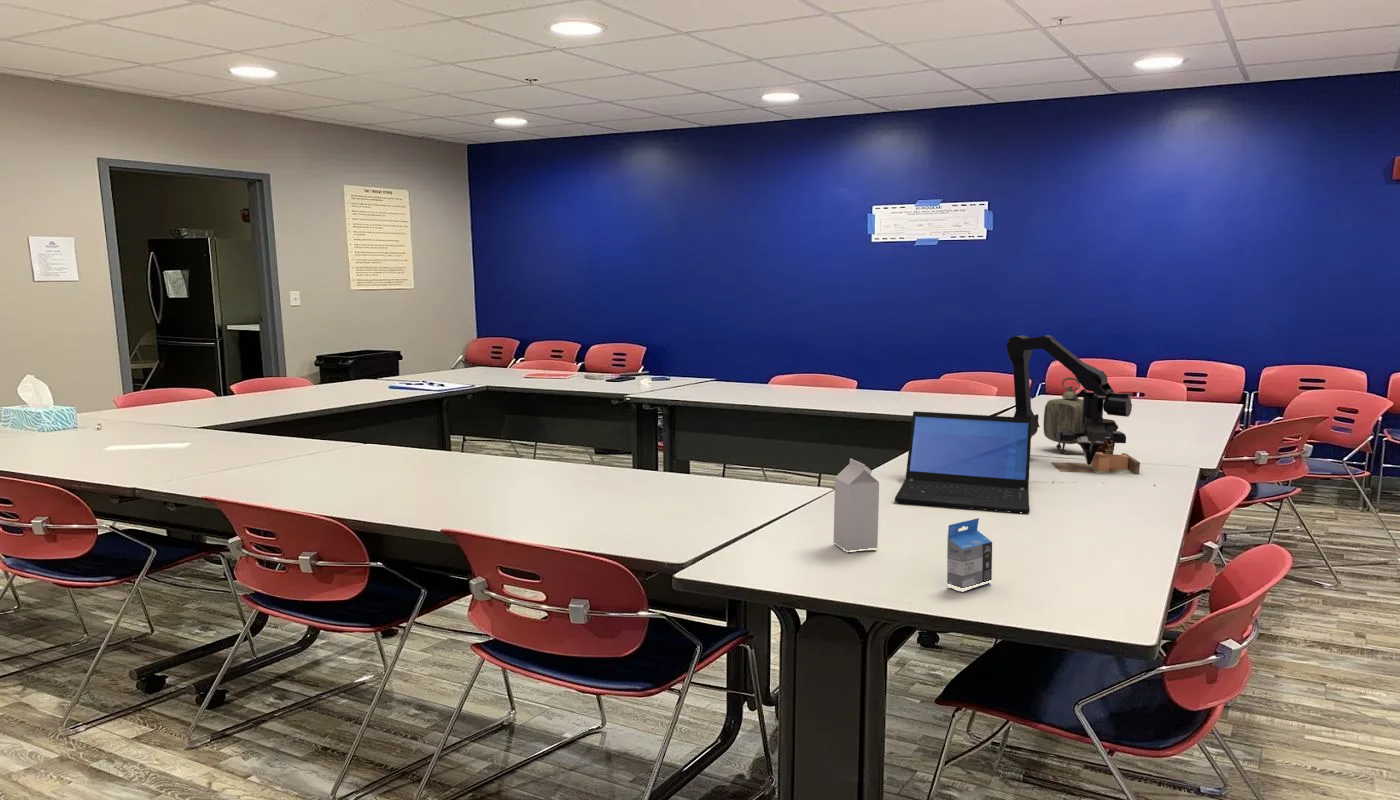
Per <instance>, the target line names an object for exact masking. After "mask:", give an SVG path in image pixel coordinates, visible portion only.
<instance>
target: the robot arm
mask: <svg viewBox="0 0 1400 800" xmlns="http://www.w3.org/2000/svg"><path fill="white" fill-rule="evenodd" d="M1039 349H1042V350H1044V351H1045V352H1046V353H1047V354H1049V355H1050V356H1051V357H1053V358H1054V359H1055V360H1056V361H1057V362H1059V363H1060V364H1061V365H1062V366H1064V367H1065V368H1066V369H1067V370H1069V371H1070V372H1071V373H1072V374H1073V375H1074V377H1075V379H1077V380H1078V382H1079V383H1080V386H1082V387H1083V389H1081V390H1080V391H1079V392H1078V393H1076V397H1078V398H1082V399H1083V408H1082V415H1081V418H1082V422H1081V428H1080V432H1081V433H1078V432H1073V431H1072V430H1070V429H1058V430H1057V433H1056V438H1057V439H1059V440H1060V441H1072V440H1073V439H1074V438H1075V439H1077V440H1076V442H1078V443H1079V444H1080V445H1081V446H1080V445H1079V444H1078V445H1079V446H1080V447H1081V449H1082V453H1083V452H1084V453H1083V455H1084V457H1085V461H1086V463H1087V464H1088V465H1090V464H1091V462H1092V460H1093V458H1094V455H1095V453H1096V451H1097V450H1098V448H1099V447H1100V446H1101V445H1105V443H1104V441H1105V440H1113V441H1114V442H1115V444H1126V443H1127V436H1126V434H1125V433H1123V432H1122V431H1119V430H1117V431H1113V425H1106V426H1105V425H1104V424H1103V419H1104V417H1103V416H1104V412H1105V413H1106V415H1108V416H1116V417H1117V416H1118V417H1125V418H1126V417H1128V418H1129V417H1130V415H1131V412H1132V408H1133V404H1132V398H1131V394H1130V393H1129V392H1123V393H1122V392H1121V393H1120V392H1115V390H1114V389H1113V388H1112V386H1111V385H1110V383H1109V382H1108V375H1107V374H1106V373H1105V372H1104V371H1102V370H1101V369H1098V368H1097V367H1095V366H1092V365H1089V364H1088V363H1086V362H1084V361H1082V360H1081V359H1080V357H1079V358H1078V357H1077V355H1076V354H1074V353H1073V352H1071V351H1070V350H1069V349H1068V348H1066V347H1065V346H1064V345H1062V344H1061V343H1060V342H1059V341H1057V340H1056V339H1055V337H1054V336H1052V335H1051V334H1048V335H1042V336H1037V337H1029V336H1028V335H1024V334H1023V335H1017V336H1012V337H1010V338H1009V339H1008V340H1007V342H1006V351H1007V356H1008V358H1009V360H1010V362H1011V364H1012V369H1013V370H1012V372H1013V385H1014V387H1013V388H1014V400H1015V401H1014V403H1015V404H1014V405H1015V411H1014V415H1013V417H1021V418H1029V420H1030V421H1031V423H1032V426H1031V439H1032V438H1033V436H1035V435H1036V434H1037V432H1038V431H1039V430H1038V429H1039V428H1040V425H1039V419H1040V418H1039V414H1038V413H1037V414H1034V411H1033V410H1032V401H1031V399H1032V398H1031V387H1030V386H1031V385H1030V372H1029V370H1030V368H1029V364H1030V360H1031V358H1032V354H1033V353H1032V352H1033V350H1039ZM1089 441H1090V442H1089ZM1031 450H1032V449H1031V448H1030V451H1031Z"/></svg>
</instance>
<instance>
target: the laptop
mask: <svg viewBox="0 0 1400 800" xmlns="http://www.w3.org/2000/svg"><path fill="white" fill-rule="evenodd" d="M1031 426H1032V423H1031V421H1030V420H1029V418H1021V417H1014V416H1003V415H1002V416H1001V415H989V414H988V415H986V414H984V415H983V414H968V413H967V414H965V413H949V412H932V411H918V410H917V411H913V412H912V419H911V427H910V437H909V443H908V444H909V446H908V455H907V465H906V472H905V480H904V481H903V483H902V485H901V486H900V488H899V490H898V491H897V494H896V495H895V497H894V501H895V502H897V503H898V504H903V503H908V504H907V505H918V504H924V505H923V506H930V505H935V506H934V507H940V506H947V507H946V508H952V507H959V508H958V509H964V508H973V509H972V510H976V509H986V510H985V511H987V510H997V511H996V512H999V511H1010V512H1009V513H1012V512H1022V513H1021V514H1024V513H1026V514H1028V513H1029V512H1030V511H1031V510H1030V502H1029V501H1030V497H1029V496H1030V495H1029V494H1030V493H1029V492H1030V491H1029V486H1030V485H1029V483H1030V466H1031V465H1030V462H1031V450H1030V448H1031V447H1032V446H1031V445H1032V443H1031V442H1032V438H1031Z"/></svg>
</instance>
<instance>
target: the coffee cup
mask: <svg viewBox="0 0 1400 800" xmlns="http://www.w3.org/2000/svg"><path fill="white" fill-rule="evenodd" d="M1103 424H1104V425H1105V426H1106V425H1113V431H1118V429H1119V426H1118V424H1117V423H1116V421H1115V420H1114V419H1108V418H1103ZM1104 443H1105V445H1101V446H1100V447H1099V448H1098V450H1097V451H1096V452H1102V453H1103V454H1113V455H1114V450H1115V447H1116V446H1115V445H1116V443H1115V442H1114V441H1113V440H1105V441H1104Z"/></svg>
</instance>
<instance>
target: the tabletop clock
mask: <svg viewBox="0 0 1400 800" xmlns="http://www.w3.org/2000/svg"><path fill="white" fill-rule="evenodd" d="M1069 380H1071V381H1075V382H1076V383H1077V384H1078V385H1077V387H1076V388H1073V386H1072V385H1070V386H1069V387H1067V386H1065V385H1064V384H1065V382H1066V381H1069ZM1061 385H1062V387H1063V388H1064V390H1066V391H1065V392H1064V393H1063V394H1062V396H1061V398H1056V399H1049V400H1047V402H1046V403H1045V406H1044V412H1043V435H1044V437H1045V438H1047V439H1048V440H1050V441H1052V442H1055V443H1056V442H1057V443H1058V444H1056V445H1055V447H1056V449H1058V450H1059V452H1060V454H1065V453H1066V449H1065V447H1066V444H1067V445H1075V444H1077V445H1079V446H1080V447H1081V445H1080V444H1079V443H1078V442H1076V440H1077V439H1075V438H1074V439H1073V440H1072V441H1060V440H1059V439H1057V438H1056V433H1057V430H1058V429H1070V430H1072V431H1073V432H1078V433H1081V432H1080V428H1081V422H1082V418H1081V415H1082V408H1083V398H1080V397H1076V394H1077V392H1075V391H1078V390H1079V389H1080V387H1081V384H1080V383H1079V382H1078V380H1077V379H1076V377H1075V378H1074V377H1065V378H1064V379H1062V382H1061ZM1089 443H1090V441H1089ZM1061 444H1062V445H1061ZM1082 453H1083V454H1084V452H1083V451H1082Z"/></svg>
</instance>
